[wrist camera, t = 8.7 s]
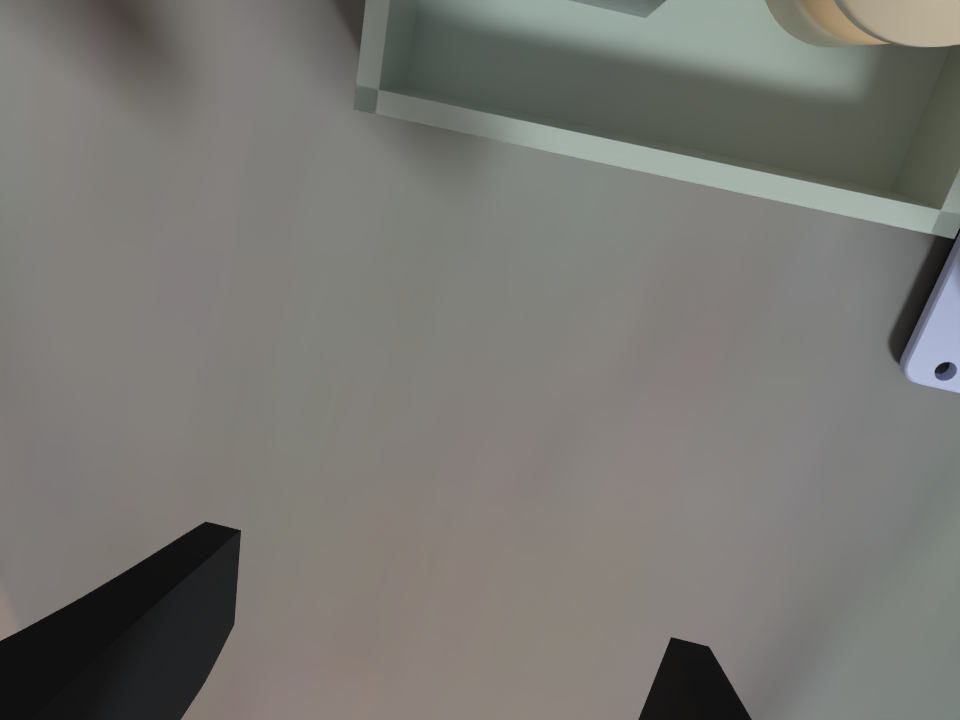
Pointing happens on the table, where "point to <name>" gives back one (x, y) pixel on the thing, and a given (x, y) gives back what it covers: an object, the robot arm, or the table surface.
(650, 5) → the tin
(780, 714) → the table surface
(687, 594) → the table surface
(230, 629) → the robot arm
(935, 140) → the crate
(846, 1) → the jar
